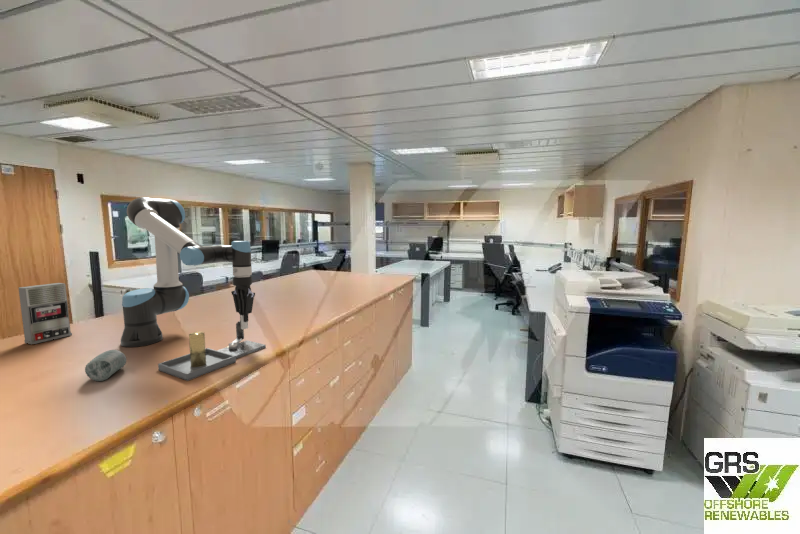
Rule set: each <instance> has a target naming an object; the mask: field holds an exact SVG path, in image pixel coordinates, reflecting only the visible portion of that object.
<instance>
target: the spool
mask: <svg viewBox="0 0 800 534" xmlns="http://www.w3.org/2000/svg"><path fill="white" fill-rule="evenodd" d="M126 364H127V357H126V355H125V353H124V352H123V351H120V350H118V349H109V350H105V351H104V352H102V353H100V354H98V355H96V356H95V357H94V358H92V360H90V361H89V362H88V363H87V364H86V365H85V367H84V372H85V374H86V376H87V377H88V378H89V379H91V380H92V381H96V382H103V381H106V380H108V379H109V378H110V377H111V376H112V375H113V374H115V373H116V372H118V371H119V370H121V369H122V368H124V366H125V365H126Z"/></svg>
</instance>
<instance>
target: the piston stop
mask: <svg viewBox="0 0 800 534" xmlns="http://www.w3.org/2000/svg"><path fill="white" fill-rule="evenodd" d="M205 336H206V334H205V332H204V331H194V332H190V333H189V334H188V342H189V343H188V344H189V354H190V361H191V367H201V366H204V365H205V364H206V351H205V349H206V337H205Z"/></svg>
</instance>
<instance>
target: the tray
mask: <svg viewBox="0 0 800 534" xmlns="http://www.w3.org/2000/svg"><path fill="white" fill-rule="evenodd" d="M205 351H206V364H205V365H204V366H201V367H191V361H190V353H188V354H187V353H186V354H184V355H181V356H179V357H175V358H172V359H168V360H165V361H163V362H159V363H157V366H158V371H159V372H162V373H164V374H167V375H170V376H173V377H175V378H178V379H181V380H183V381H186V382H189V381H191V380H193V379H197V378H199V377H201V375H202V376H204V375H206V373H207V374H209V373H212V372H214V371H216V370H219V369H222V368H224V367H227V366H229V365H232V364H234V363H236V362H237V359H236V356H234V355H231V354H227V353H224V352H220V351H217V350H216V349H213V348H209V347H207V348H206V347H205ZM203 374H204V375H203Z"/></svg>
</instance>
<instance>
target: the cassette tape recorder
mask: <svg viewBox="0 0 800 534" xmlns="http://www.w3.org/2000/svg"><path fill="white" fill-rule="evenodd" d="M66 285H67V284H66V283H64V282H54V283H47V284H37V285H29V286H20V287H18V296H19V303H20V311H21V320H22V321H21V322H22V327H23V336H24V340H23V341H24V344H27V343H28V344H29V345H32V344H35V345H37V344H39V343H40V344H41V343H44V342H49V341H54V340H57V339H63V338H66V337H71V336H73V333H72V332H71V325H70V324H71V323H70V314H69V306H68V296H67V295H68V293H67V288H66V287H67V286H66ZM70 335H71V336H70ZM53 339H54V340H53Z"/></svg>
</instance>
